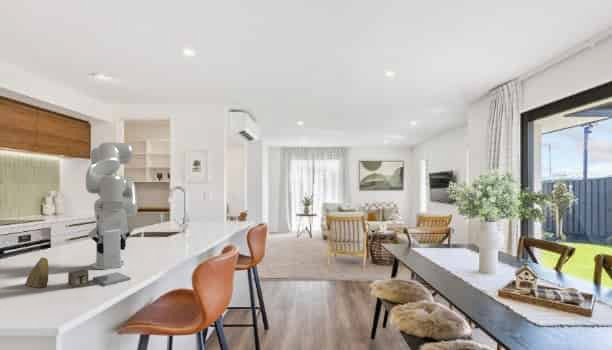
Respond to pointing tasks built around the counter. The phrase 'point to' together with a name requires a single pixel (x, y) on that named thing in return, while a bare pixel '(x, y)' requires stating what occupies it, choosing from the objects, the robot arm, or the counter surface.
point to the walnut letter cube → (78, 277)
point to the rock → (39, 274)
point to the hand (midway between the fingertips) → (111, 251)
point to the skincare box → (111, 250)
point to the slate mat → (111, 278)
